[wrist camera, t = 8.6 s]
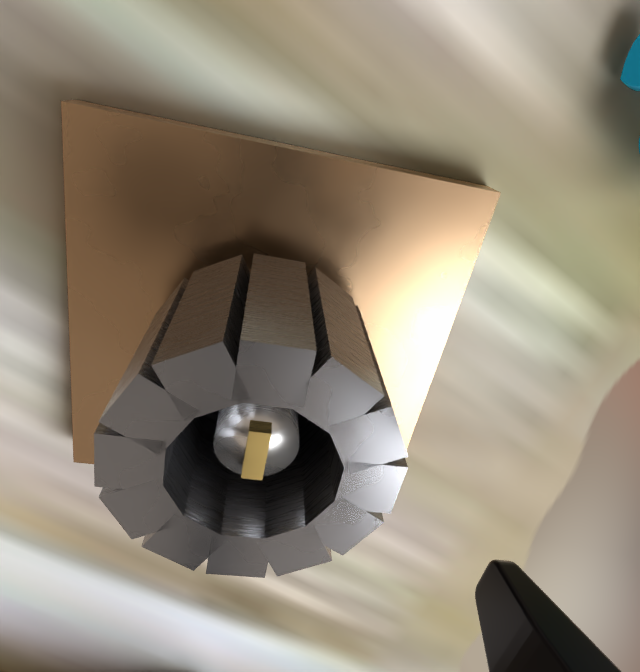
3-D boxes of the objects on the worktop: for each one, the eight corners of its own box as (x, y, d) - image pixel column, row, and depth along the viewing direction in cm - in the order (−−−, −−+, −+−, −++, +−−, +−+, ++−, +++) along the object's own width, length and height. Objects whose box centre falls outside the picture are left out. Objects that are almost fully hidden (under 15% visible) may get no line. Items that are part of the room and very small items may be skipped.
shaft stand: (385, 475, 20) (425, 628, 15) (83, 443, 18) (-4, 605, 13) (487, 185, 15) (613, 251, 9) (75, 99, 13) (-81, 115, 7)
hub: (342, 452, 17) (364, 584, 12) (146, 430, 16) (95, 566, 11) (392, 277, 14) (444, 369, 10) (157, 236, 13) (92, 318, 8)
